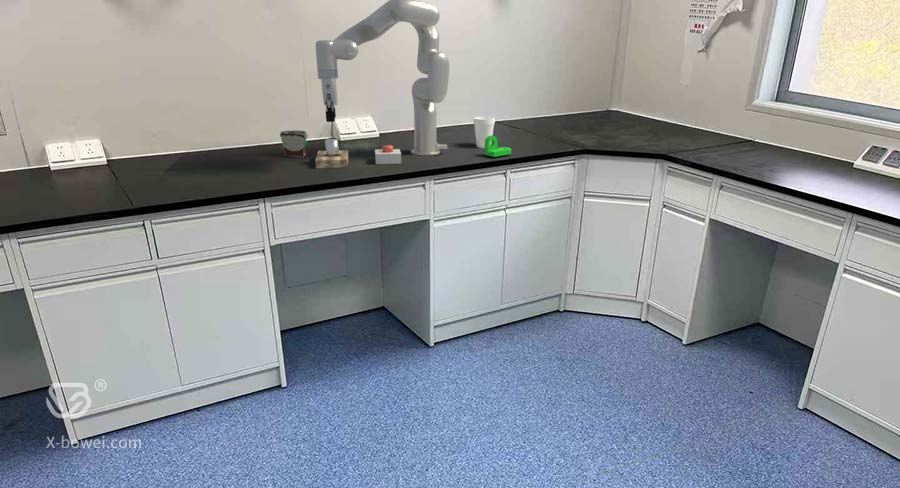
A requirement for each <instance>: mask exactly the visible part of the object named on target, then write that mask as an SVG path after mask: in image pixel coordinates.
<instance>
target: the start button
mask: <svg viewBox="0 0 900 488" xmlns="http://www.w3.org/2000/svg"><path fill="white" fill-rule="evenodd" d="M381 147H382V148H381V149H382V151H383V152H393V149H394V145H391V144H387V145H386V144H385V145H382V146H381Z"/></svg>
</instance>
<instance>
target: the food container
mask: <svg viewBox="0 0 900 488" xmlns="http://www.w3.org/2000/svg"><path fill="white" fill-rule="evenodd" d="M279 137H281V144H282V150H283V154H284V156H286V157H295V158H305V157H306V156H307V139H308V133H307V131H304V130H284V131H280V133H279Z"/></svg>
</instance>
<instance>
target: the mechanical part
mask: <svg viewBox="0 0 900 488" xmlns="http://www.w3.org/2000/svg"><path fill="white" fill-rule="evenodd" d="M490 142H491V145H490ZM484 155H485V156H488V157H493V158H495V157H501V156H502V157H503V156H509V155H512V148H511V147H505V146H503V147H498V139H497V137H496V136H494V135H492V136H488V137H487V138H486V139H485V148H484Z"/></svg>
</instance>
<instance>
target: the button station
mask: <svg viewBox="0 0 900 488" xmlns="http://www.w3.org/2000/svg"><path fill="white" fill-rule="evenodd" d="M374 160H375V165H400V164H402V152H401V148H393V152H383V151H382V148H381V149H374Z"/></svg>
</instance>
